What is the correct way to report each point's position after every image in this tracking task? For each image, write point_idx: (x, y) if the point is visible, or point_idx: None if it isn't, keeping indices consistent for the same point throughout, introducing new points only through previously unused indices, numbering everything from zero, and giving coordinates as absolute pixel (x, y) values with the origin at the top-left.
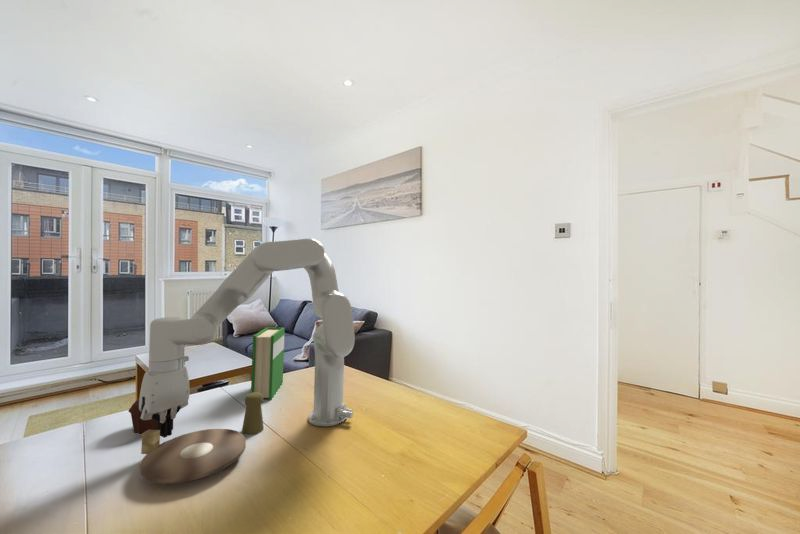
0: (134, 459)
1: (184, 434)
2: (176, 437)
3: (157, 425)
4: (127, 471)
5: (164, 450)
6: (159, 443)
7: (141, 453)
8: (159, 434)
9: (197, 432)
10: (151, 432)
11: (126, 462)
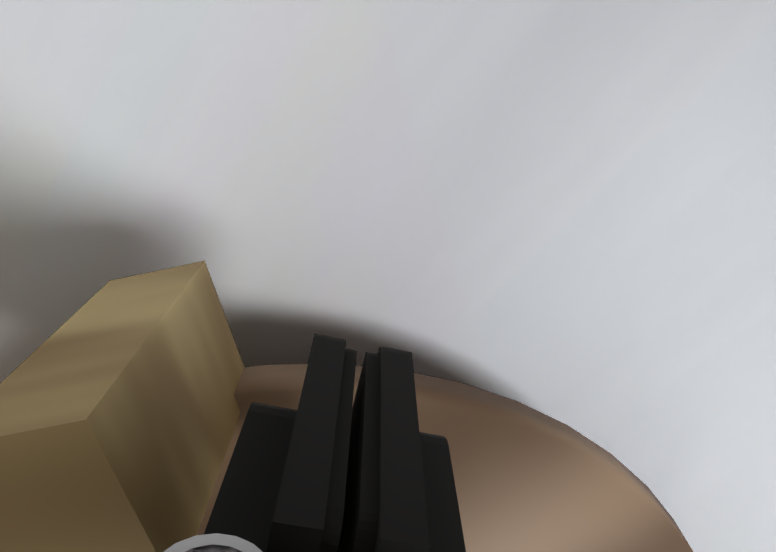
0: (150, 123)
1: (543, 439)
2: (455, 420)
3: (217, 500)
4: (5, 269)
5: (203, 522)
6: (232, 430)
7: (109, 284)
8: (188, 531)
9: (613, 522)
10: (50, 547)
11: (75, 98)
